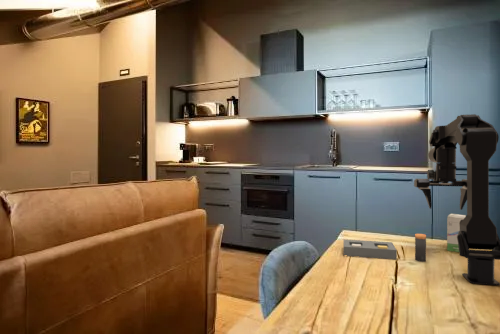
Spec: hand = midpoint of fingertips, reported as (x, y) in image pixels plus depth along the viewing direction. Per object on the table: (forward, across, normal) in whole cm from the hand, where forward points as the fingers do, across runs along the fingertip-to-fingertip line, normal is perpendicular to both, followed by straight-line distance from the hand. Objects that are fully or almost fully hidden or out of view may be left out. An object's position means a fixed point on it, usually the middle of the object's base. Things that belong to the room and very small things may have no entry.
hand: (445, 208), depth 113 cm
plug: (+14, +10, +13) cm, 22 cm away
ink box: (+15, -4, -4) cm, 16 cm away
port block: (+14, +25, +10) cm, 31 cm away
